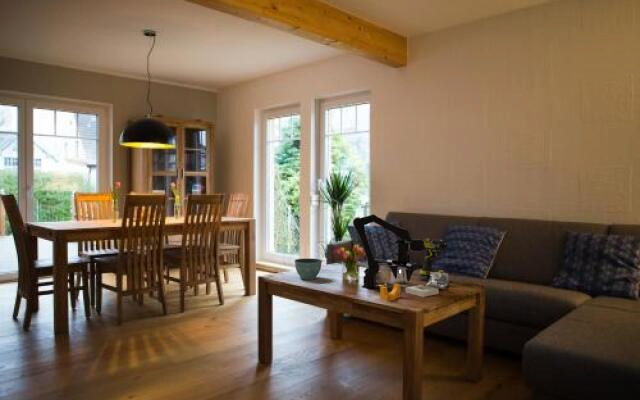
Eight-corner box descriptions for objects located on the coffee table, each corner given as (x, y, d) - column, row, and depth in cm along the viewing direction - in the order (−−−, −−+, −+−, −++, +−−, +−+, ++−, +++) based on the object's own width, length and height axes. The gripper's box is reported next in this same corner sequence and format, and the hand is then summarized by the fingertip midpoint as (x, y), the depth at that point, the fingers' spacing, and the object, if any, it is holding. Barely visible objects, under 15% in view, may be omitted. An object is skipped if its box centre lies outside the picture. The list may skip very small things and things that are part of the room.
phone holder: (444, 274, 252) (422, 272, 257) (443, 292, 252) (422, 290, 257) (450, 268, 268) (429, 266, 273) (449, 286, 268) (429, 283, 273)
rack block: (423, 296, 239) (423, 292, 239) (405, 292, 249) (405, 287, 249) (438, 293, 247) (438, 289, 247) (420, 289, 256) (420, 284, 256)
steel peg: (402, 289, 256) (402, 270, 256) (397, 287, 259) (397, 269, 259) (406, 288, 258) (407, 270, 258) (401, 287, 261) (402, 269, 261)
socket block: (402, 291, 250) (402, 286, 250) (386, 287, 260) (386, 282, 260) (417, 288, 258) (417, 284, 258) (401, 284, 267) (401, 280, 267)
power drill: (447, 283, 274) (448, 240, 273) (417, 280, 280) (418, 238, 279) (448, 280, 282) (450, 238, 281) (420, 277, 288) (421, 236, 288)
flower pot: (288, 278, 280) (289, 260, 279) (307, 274, 292) (307, 257, 292) (309, 282, 269) (309, 263, 269) (327, 278, 281) (327, 260, 281)
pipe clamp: (386, 301, 229) (386, 288, 229) (380, 299, 233) (380, 286, 232) (402, 297, 237) (403, 285, 237) (396, 296, 240) (396, 283, 240)
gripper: (425, 252, 256) (425, 281, 256) (400, 248, 270) (399, 275, 271) (411, 254, 249) (411, 283, 249) (386, 249, 264) (385, 277, 264)
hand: (402, 279), depth 259 cm, fingers open, 9 cm apart
